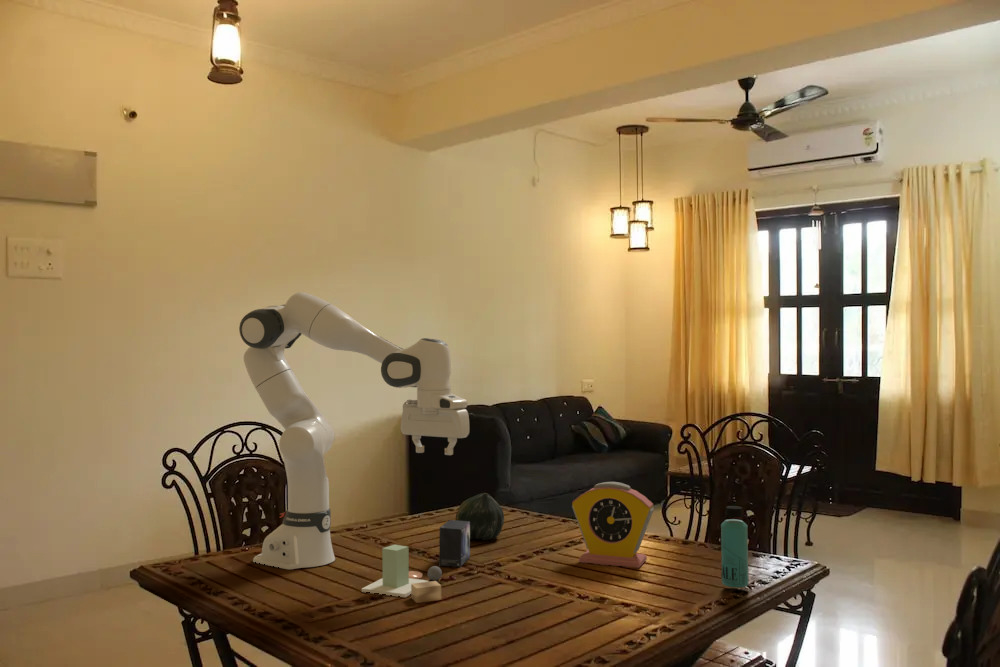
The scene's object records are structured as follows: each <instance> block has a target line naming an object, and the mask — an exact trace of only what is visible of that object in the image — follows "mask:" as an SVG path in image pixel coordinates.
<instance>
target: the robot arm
mask: <svg viewBox="0 0 1000 667" xmlns="http://www.w3.org/2000/svg"><path fill="white" fill-rule="evenodd" d="M238 329H239V335H240V338H241V339H242V341H243V342H244V343H245V344H246V345H247V346H249V347H248V348H247V349H246V350H245V352H244V354H243V363H244V366H245V368H246V371H247V373H248V376H249V378H250V380H251V382H252V385H253V387H254V389H255V390H256V392H257V394H258V396H259V397H260V399H261V401H262V403H263V405H264V406H265V408H266V410H267V411H268V413H269V414H270V415H271V417H273V418H275V420H277V421H278V423H279V424H280V425H281V426H282V428H283V429H284V431H283V432H282V434H281V436H280V439H279V443H278V444H279V445H278V446H279V447H278V448H279V450H280V454H282V457H283V464H284V468H285V473H286V480H287V510H285V511H284V512H282V513H279V515H281V516H279V518H283V519H282V524H280V525H279V526H278V527H276V529H274V530H273V531H272V532H270V533H269V534H268V535H267V536H266V537H264V540H263V543H262V548H261V553H259V554H257V555H255V556H254V557H253V559H252V562H253V563H255V562H256V564H259V563H260V564H259V565H264V564H265V566H269V567H270V566H271V567H273V566H274V567H275V568H278V567H279V569H284V570H294V569H295V570H296V569H301V568H302V569H303V568H315V567H319V566H325V565H328V564H331V563H333V562H335V560H336V557H335V556H336V555H335V553H334V550H333V544H332V539H331V538H332V537H331V530H330V529H331V525H332V523H331V522H332V521H331V520H332V518H331V516H332V515H331V512H332V511H331V508H330V481H329V477H328V475H327V471H326V465H325V464H326V463H325V459H324V458H325V457H324V455H325V454H326V453H328V451H330V449H331V448H332V446H333V444H334V443H335V442H334V441H335V437H336V433H335V429H334V427H333V425H332V424H331V423H330V422H329V421H328V420H327V419H326V417H325V416H324V415H323V414H322V413H321V411H320V409H318V407H317V406H316V405H315V403H314V402H313V401H312V400H311V398H310V397H309V396H308V395H307V393H306V392H305V390H304V388H303V386H302V385H301V383H300V380H299V379H298V378H297V376H296V374H295V373H294V371H293V369H292V367H291V365H290V364H289V362H288V361H287V358H286V356H285V349H290V348H292V346H293V345H294V344H295V342H296V341H297V340H298V339H299V338H300V337H301V336H302V335H303V336H305V337H306V338H308V339H310V340H311V341H313V342H314V343H317V344H319V345H320V346H323V347H325V348H329V349H331V350H336V351H343V352H344V351H345V352H353V353H358V354H362V355H364V356H367V357H369V358H370V359H373V360H374V361H376V362H378V363H380V364H381V365H380V373H381V377H382V379H383V381H384V382H385V383H386V384H387V385H388V386H390V387H393V388H396V389H397V388H398V389H402V388H403V389H405V388H416V396H417V397H416V399H407V400H406V401H404V403H403V404H402V413H401V421H400V431H401V433H402V434H403V435H407V436H411V440H412V443H413V444H414V445H415V453H416V454H417V453H418V454H423V453H425V445H423V444H422V442H421V439H422V436H423V437H434V438H435V437H436V438H447V442H448V445H447V447H444V455H445V456H452V455H454V447H455V446H456V444H457V442H458V439H464V438H467V437H468V436H469V435H470V418H469V412H468V410H467V409H466V408H467V407H468V400H467V399H465V398H464V397H460V396H458V395H456V394H454V393H452V386H451V384H450V383H451V382H450V379H451V375H452V374H451V373H452V364H451V352H450V348H449V345H448V344H447V343H446V342H445V341H443V340H440V339H434V338H428V337H424V338H423V337H422V338H420V339H419V340H418V341H417V342H415V343H414V344H412V345H410V346H408V347H406V348H402V347H399V346H398V345H396V344H394V343H392V342H390V341H388V340H387V339H385V338H383V337H382V336H379V335H378V334H376V333H375V332H372V331H371V330H369V329H368V328H367V327H365V326H364V325H362V324H361V323H360V322H359V321H357V320H355V319H354V318H353V317H352V316H351V315H349V314H348V313H346V312H345V311H343V310H342V309H340V308H339V307H338V306H336V305H335V304H332V303H331V302H328V301H327V300H325V299H323V298H321V297H319V296H317V295H315V294H311V293H308V292H304V291H301V292H296V293H294V294H293V295H291V296H290V297H289V298H288V300H287V301H286V302H285V304H280V305H279V304H278V305H277V304H275V305H269V306H266V307H263V308H257V309H255V310H252V311H250V312H248V313H247V314H246V315H244V316H243V317H242V318H241V320H240V323H239V328H238Z"/></svg>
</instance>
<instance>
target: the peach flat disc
mask: <svg viewBox="0 0 1000 667" xmlns="http://www.w3.org/2000/svg"><path fill="white" fill-rule="evenodd" d="M409 578H411V579H419V578H420V579H421V578H423V573H422V572H420V571H414V570H409Z"/></svg>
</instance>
